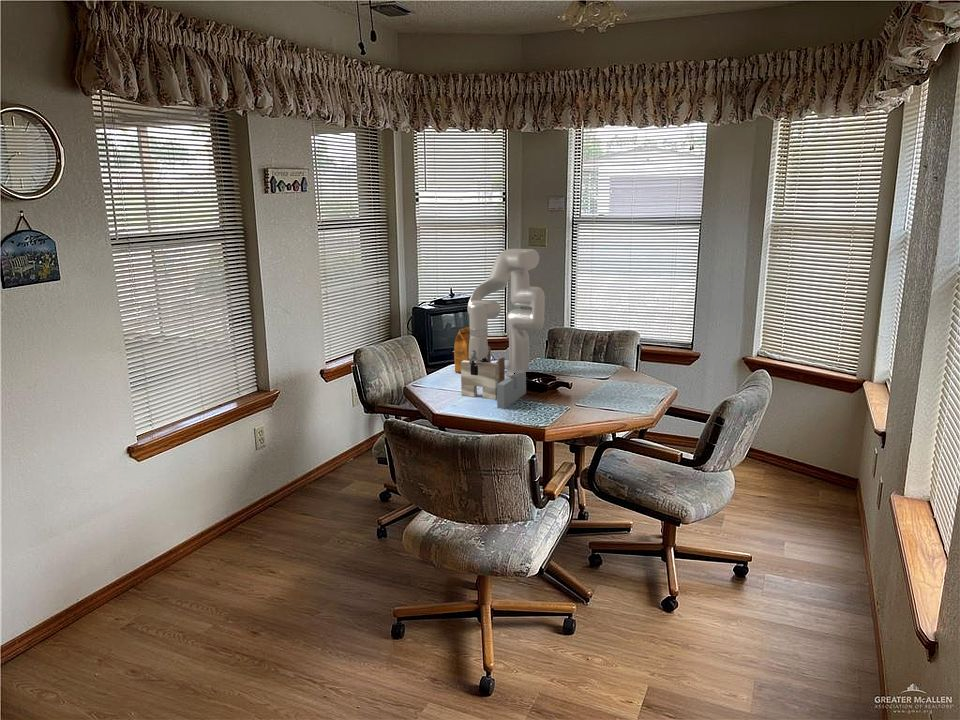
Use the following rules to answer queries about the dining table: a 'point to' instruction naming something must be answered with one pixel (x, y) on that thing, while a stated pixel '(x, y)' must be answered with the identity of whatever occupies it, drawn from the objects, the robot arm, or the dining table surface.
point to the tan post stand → (500, 366)
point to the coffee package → (461, 348)
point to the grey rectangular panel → (511, 389)
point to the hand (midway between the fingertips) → (479, 372)
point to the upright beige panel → (479, 379)
